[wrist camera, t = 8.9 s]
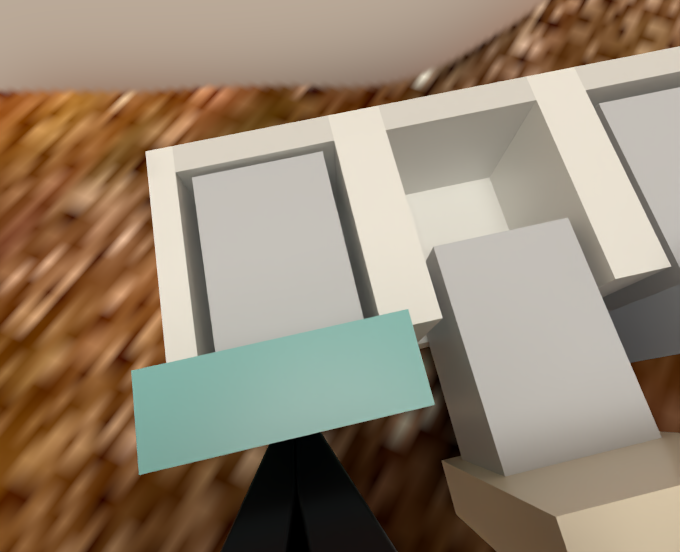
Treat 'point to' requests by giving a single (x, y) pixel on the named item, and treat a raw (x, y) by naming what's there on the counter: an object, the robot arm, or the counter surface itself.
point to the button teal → (275, 327)
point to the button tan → (546, 402)
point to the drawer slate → (649, 218)
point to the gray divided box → (432, 186)
